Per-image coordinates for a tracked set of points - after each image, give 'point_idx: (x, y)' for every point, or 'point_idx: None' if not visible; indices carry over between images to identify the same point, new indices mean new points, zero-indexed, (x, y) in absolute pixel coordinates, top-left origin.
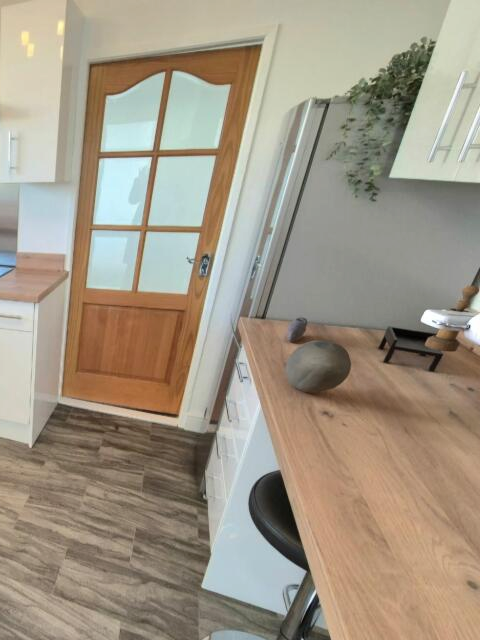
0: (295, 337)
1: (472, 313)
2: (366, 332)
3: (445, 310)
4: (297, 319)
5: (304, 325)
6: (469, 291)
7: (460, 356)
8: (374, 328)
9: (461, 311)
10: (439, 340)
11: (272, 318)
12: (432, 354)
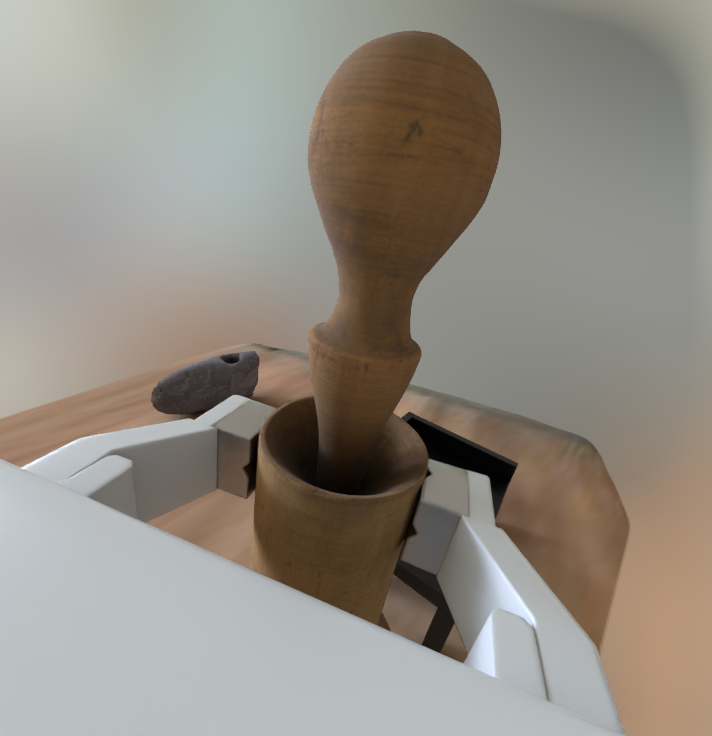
0: (165, 404)
1: (97, 693)
2: (433, 411)
3: (211, 409)
4: (231, 355)
5: (219, 373)
6: (320, 123)
7: (595, 538)
8: (464, 403)
9: (342, 454)
10: None
11: (295, 352)
12: (424, 591)
